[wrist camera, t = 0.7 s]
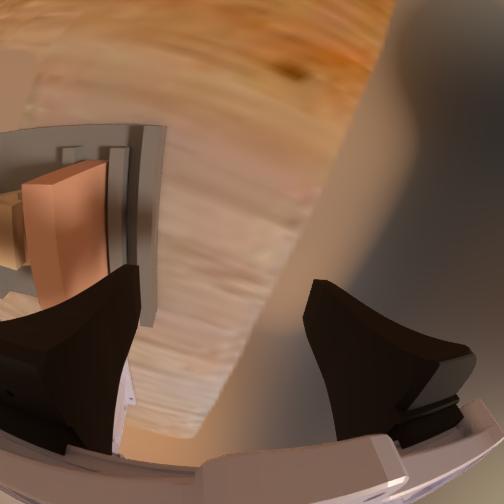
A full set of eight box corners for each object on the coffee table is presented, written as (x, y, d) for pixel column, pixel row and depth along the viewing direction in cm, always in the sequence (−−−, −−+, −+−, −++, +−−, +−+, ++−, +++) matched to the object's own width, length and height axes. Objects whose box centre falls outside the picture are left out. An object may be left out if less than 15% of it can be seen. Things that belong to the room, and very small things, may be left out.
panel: (114, 286, 21) (80, 355, 14) (92, 283, 20) (53, 349, 13) (112, 160, 17) (52, 184, 10) (87, 159, 16) (21, 184, 9)
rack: (157, 309, 23) (152, 327, 21) (8, 284, 20) (-4, 297, 18) (166, 126, 17) (159, 126, 15) (-7, 134, 14) (-25, 137, 12)
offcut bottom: (41, 257, 19) (32, 265, 18) (11, 258, 18) (3, 265, 17) (27, 188, 16) (17, 193, 15) (-3, 194, 16) (-13, 199, 15)
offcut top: (25, 261, 17) (16, 270, 16) (-2, 253, 17) (-12, 261, 15) (22, 200, 15) (11, 206, 14) (-7, 195, 15) (-18, 200, 13)
